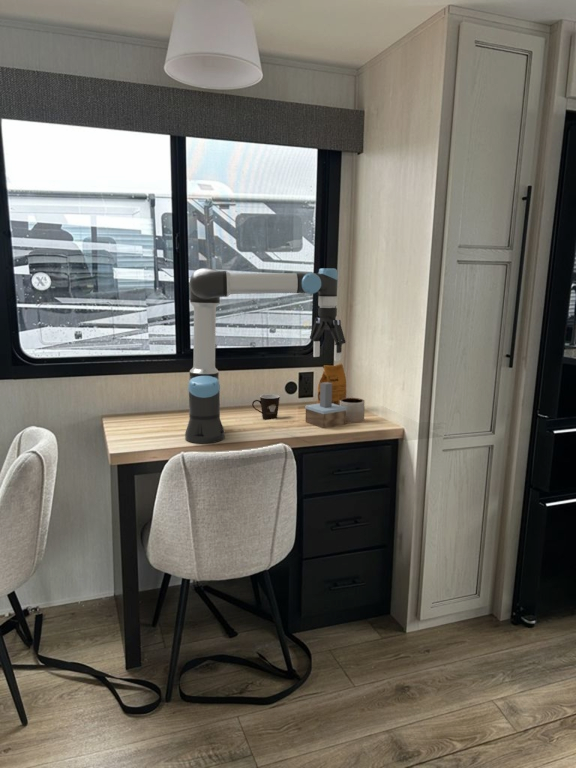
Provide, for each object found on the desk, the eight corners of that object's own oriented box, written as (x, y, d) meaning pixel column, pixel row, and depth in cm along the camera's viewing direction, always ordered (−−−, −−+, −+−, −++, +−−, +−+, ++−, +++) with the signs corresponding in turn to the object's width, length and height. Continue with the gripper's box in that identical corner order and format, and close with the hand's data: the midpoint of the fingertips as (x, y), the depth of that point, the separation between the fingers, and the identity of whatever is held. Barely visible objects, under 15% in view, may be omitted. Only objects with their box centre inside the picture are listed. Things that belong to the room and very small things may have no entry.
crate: (323, 430, 238) (323, 414, 237) (305, 424, 248) (305, 408, 247) (345, 426, 245) (345, 410, 244) (327, 420, 255) (327, 404, 253)
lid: (323, 417, 237) (324, 387, 235) (304, 411, 247) (305, 382, 245) (346, 413, 244) (347, 384, 242) (327, 407, 254) (328, 379, 252)
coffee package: (314, 410, 274) (315, 364, 270) (336, 407, 280) (337, 362, 276) (326, 414, 265) (327, 367, 261) (348, 411, 271) (349, 365, 267)
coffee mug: (280, 416, 261) (280, 394, 259) (278, 421, 253) (278, 398, 251) (254, 415, 262) (254, 393, 261) (251, 420, 254) (251, 397, 252)
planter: (346, 425, 246) (346, 403, 245) (334, 419, 256) (335, 398, 255) (368, 423, 250) (369, 401, 249) (356, 417, 260) (357, 396, 259)
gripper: (355, 308, 230) (353, 361, 233) (315, 305, 249) (315, 354, 253) (340, 308, 225) (339, 363, 229) (301, 305, 245) (301, 355, 249)
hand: (326, 358), depth 241 cm, fingers open, 13 cm apart
